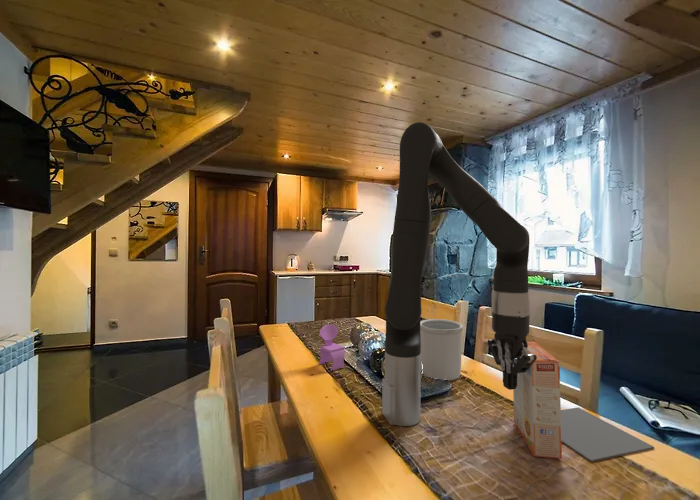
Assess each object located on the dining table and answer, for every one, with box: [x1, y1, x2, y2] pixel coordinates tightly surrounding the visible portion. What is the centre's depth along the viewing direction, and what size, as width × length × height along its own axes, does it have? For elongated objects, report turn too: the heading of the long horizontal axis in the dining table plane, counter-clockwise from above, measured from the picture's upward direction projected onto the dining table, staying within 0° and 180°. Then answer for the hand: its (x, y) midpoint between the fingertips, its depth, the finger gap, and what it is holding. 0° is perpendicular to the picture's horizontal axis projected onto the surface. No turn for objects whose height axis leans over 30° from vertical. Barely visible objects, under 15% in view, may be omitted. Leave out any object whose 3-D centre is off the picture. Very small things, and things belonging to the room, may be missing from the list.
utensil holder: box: [420, 318, 464, 381], centre depth 114 cm, size 15×15×18 cm
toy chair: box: [317, 323, 346, 372], centre depth 120 cm, size 8×9×15 cm
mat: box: [561, 407, 655, 463], centre depth 78 cm, size 18×18×1 cm
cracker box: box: [512, 341, 563, 460], centre depth 74 cm, size 14×6×21 cm, turn 168°
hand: (509, 387), depth 72 cm, fingers closed
